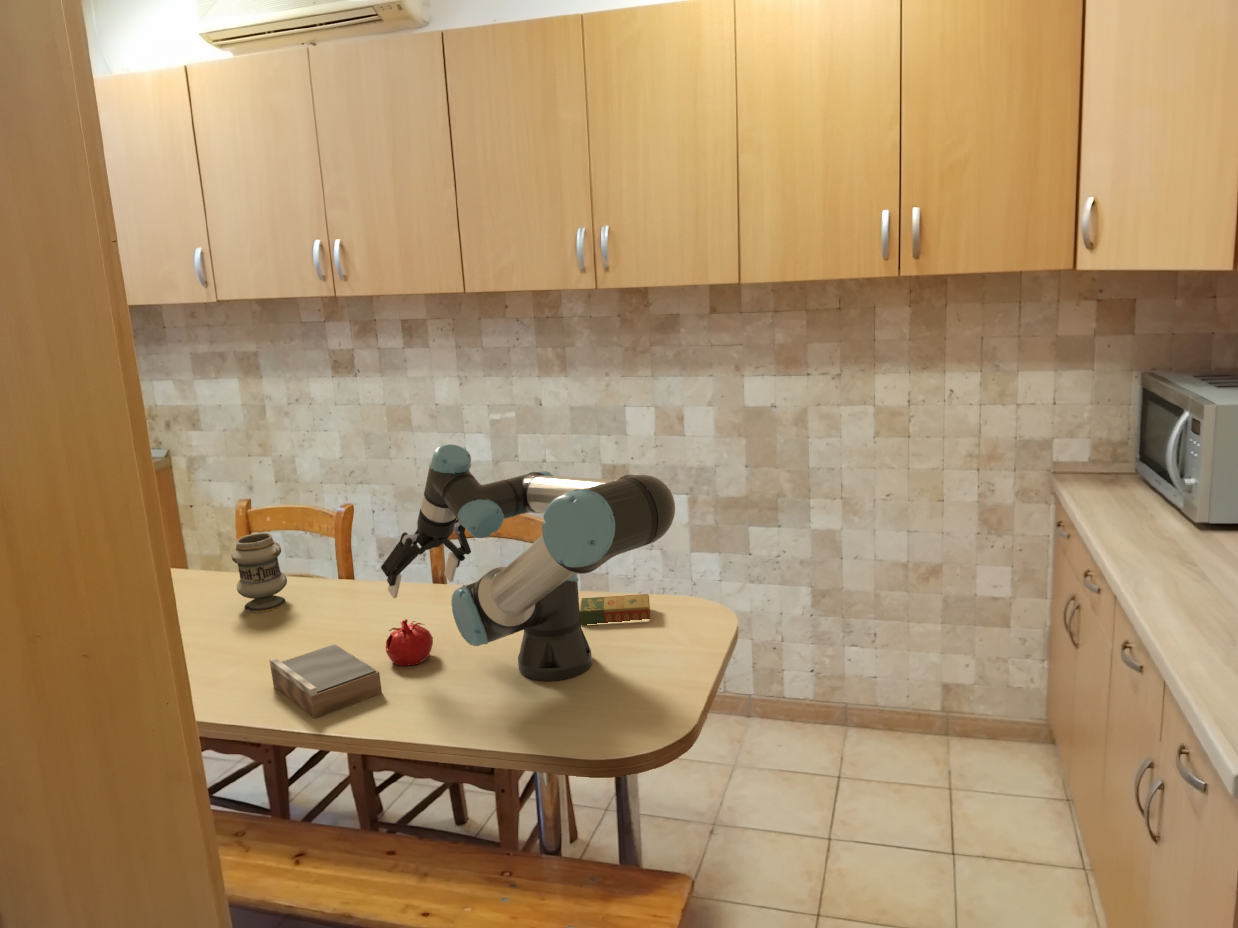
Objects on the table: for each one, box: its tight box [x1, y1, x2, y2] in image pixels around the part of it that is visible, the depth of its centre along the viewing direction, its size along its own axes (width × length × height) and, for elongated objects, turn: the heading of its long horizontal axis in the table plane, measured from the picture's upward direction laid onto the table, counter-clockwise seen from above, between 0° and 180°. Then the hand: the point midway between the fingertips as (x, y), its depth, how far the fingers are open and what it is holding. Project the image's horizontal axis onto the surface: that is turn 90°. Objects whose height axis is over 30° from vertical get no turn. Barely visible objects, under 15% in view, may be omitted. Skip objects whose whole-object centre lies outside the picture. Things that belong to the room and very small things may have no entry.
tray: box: [269, 644, 383, 719], centre depth 189 cm, size 20×14×6 cm
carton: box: [579, 593, 651, 625], centre depth 217 cm, size 8×16×4 cm, turn 89°
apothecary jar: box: [230, 532, 288, 613], centre depth 238 cm, size 12×12×18 cm
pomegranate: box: [385, 618, 434, 667], centre depth 201 cm, size 10×10×9 cm
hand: (420, 585), depth 204 cm, fingers open, 13 cm apart
